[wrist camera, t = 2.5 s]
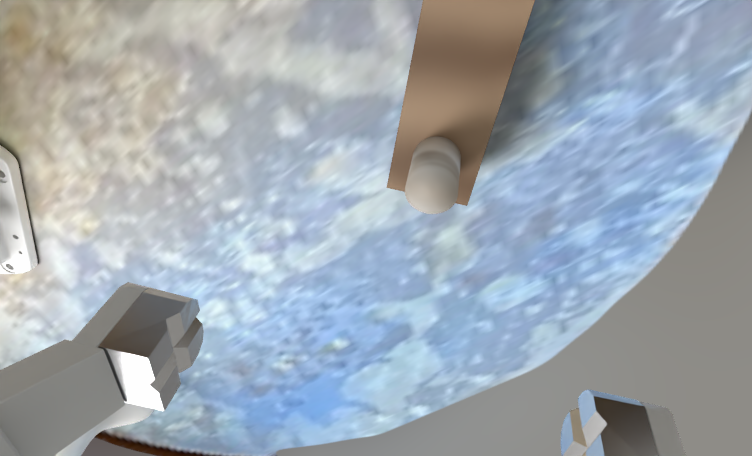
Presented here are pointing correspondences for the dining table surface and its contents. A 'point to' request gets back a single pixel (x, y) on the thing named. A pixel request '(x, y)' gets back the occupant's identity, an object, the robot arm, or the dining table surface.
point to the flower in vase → (119, 418)
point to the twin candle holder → (454, 97)
